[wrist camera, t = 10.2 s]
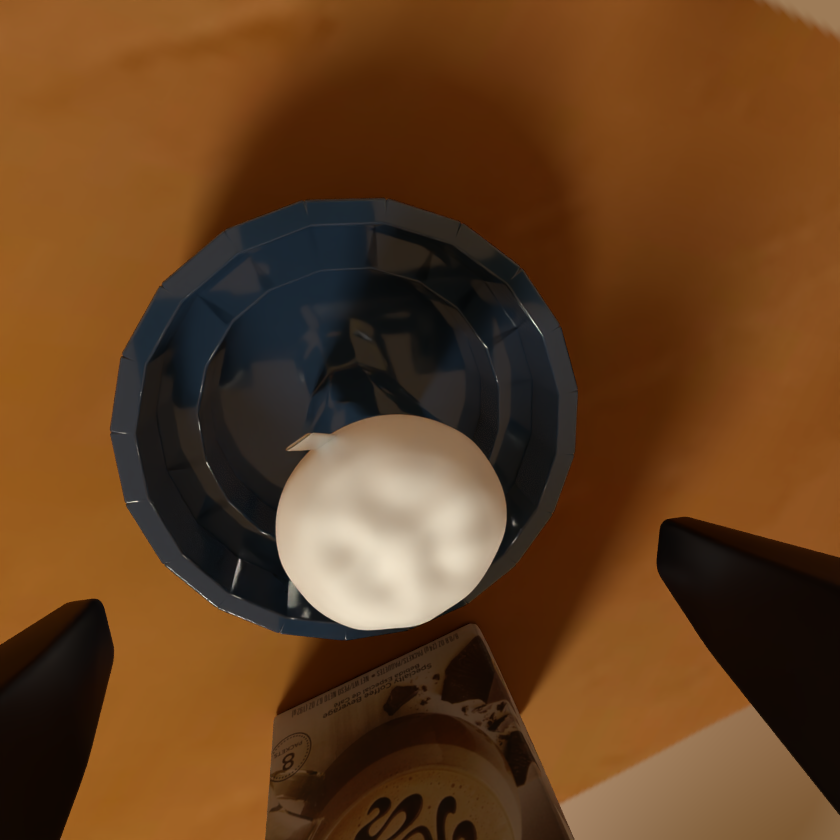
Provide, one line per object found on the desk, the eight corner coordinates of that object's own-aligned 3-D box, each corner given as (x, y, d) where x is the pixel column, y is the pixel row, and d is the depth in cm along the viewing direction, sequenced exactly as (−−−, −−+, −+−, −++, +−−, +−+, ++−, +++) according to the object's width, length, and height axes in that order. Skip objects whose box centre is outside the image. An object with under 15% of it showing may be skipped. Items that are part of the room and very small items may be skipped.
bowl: (523, 205, 18) (588, 192, 14) (517, 536, 22) (568, 605, 18) (123, 216, 16) (58, 205, 12) (191, 581, 20) (160, 671, 16)
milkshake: (361, 296, 17) (427, 351, 8) (449, 427, 19) (585, 596, 10) (242, 377, 17) (168, 528, 8) (341, 501, 19) (375, 739, 10)
